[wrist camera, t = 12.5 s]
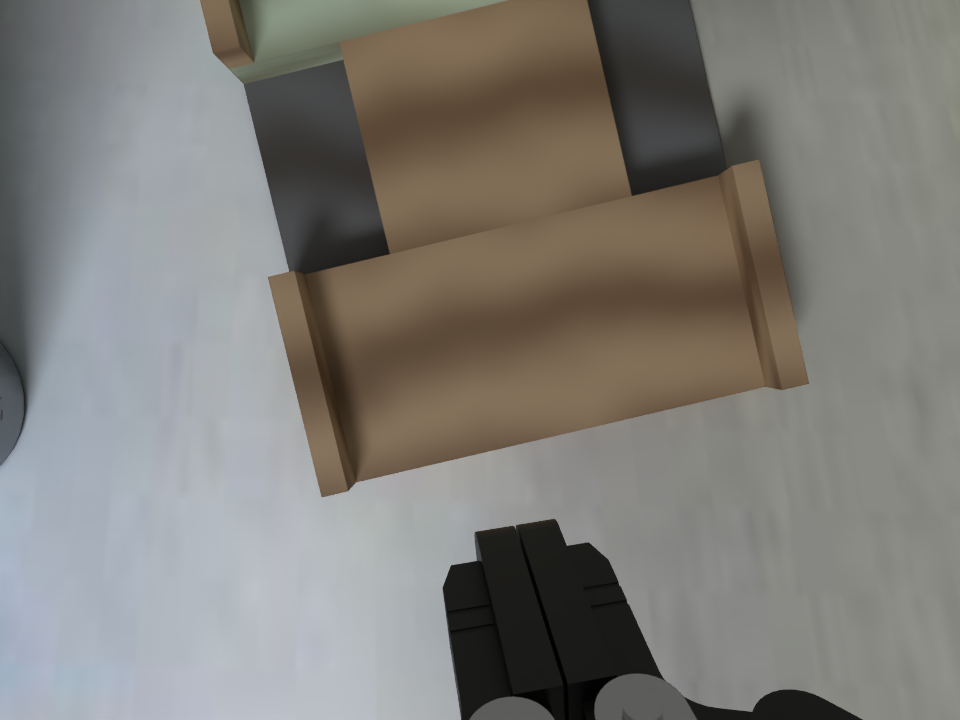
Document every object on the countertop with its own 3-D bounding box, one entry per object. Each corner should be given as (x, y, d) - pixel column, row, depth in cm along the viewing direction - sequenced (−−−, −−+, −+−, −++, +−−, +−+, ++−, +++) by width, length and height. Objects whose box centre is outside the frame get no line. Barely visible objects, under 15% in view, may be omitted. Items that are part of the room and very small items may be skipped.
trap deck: (770, 377, 37) (819, 384, 32) (341, 477, 38) (316, 502, 32) (630, -249, 36) (654, -352, 31) (191, -138, 37) (139, -221, 31)
